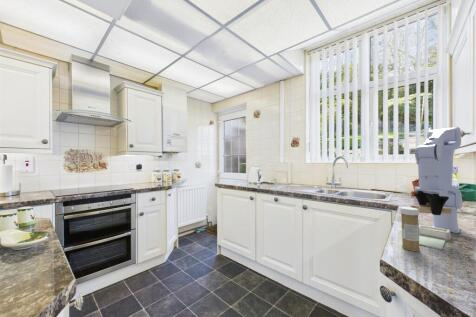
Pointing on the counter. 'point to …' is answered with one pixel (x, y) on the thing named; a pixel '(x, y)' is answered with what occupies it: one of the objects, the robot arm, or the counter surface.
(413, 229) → the sprinkles bottle
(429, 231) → the butter dish
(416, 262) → the counter surface
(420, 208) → the lid
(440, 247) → the mat
